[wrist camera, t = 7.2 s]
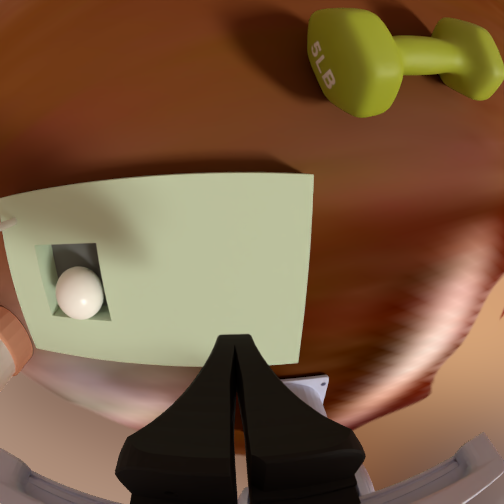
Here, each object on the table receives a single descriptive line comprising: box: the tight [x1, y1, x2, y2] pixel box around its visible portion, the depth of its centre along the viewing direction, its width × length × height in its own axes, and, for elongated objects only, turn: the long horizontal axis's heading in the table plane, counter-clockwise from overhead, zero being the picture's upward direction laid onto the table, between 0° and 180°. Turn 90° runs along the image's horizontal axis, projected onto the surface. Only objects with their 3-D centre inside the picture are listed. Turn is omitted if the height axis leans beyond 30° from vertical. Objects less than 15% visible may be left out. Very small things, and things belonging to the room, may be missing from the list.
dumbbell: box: [307, 8, 504, 118], centre depth 12 cm, size 16×8×7 cm, turn 110°
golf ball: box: [55, 266, 104, 320], centre depth 17 cm, size 4×4×4 cm
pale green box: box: [0, 172, 314, 367], centre depth 15 cm, size 14×24×10 cm, turn 90°
